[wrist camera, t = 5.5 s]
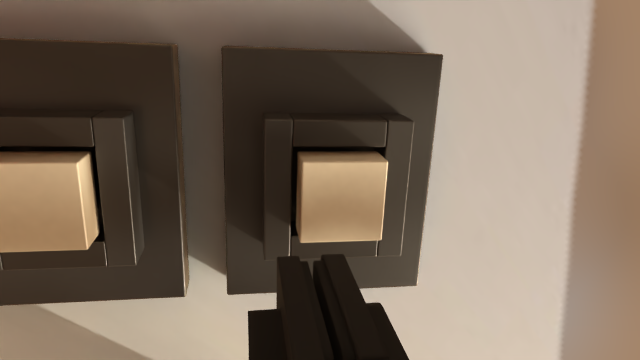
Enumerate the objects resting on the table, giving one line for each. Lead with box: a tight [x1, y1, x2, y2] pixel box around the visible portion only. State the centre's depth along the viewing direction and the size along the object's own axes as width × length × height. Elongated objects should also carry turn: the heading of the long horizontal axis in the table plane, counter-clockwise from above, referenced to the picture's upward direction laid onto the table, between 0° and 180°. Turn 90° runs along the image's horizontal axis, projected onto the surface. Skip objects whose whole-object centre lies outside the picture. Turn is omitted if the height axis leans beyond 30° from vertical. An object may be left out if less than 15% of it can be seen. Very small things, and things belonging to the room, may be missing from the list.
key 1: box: [0, 151, 100, 252], centre depth 18 cm, size 4×4×2 cm
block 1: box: [0, 38, 189, 306], centre depth 21 cm, size 12×10×4 cm
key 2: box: [296, 151, 388, 243], centre depth 20 cm, size 4×4×2 cm
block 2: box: [221, 46, 443, 295], centre depth 22 cm, size 12×10×4 cm
